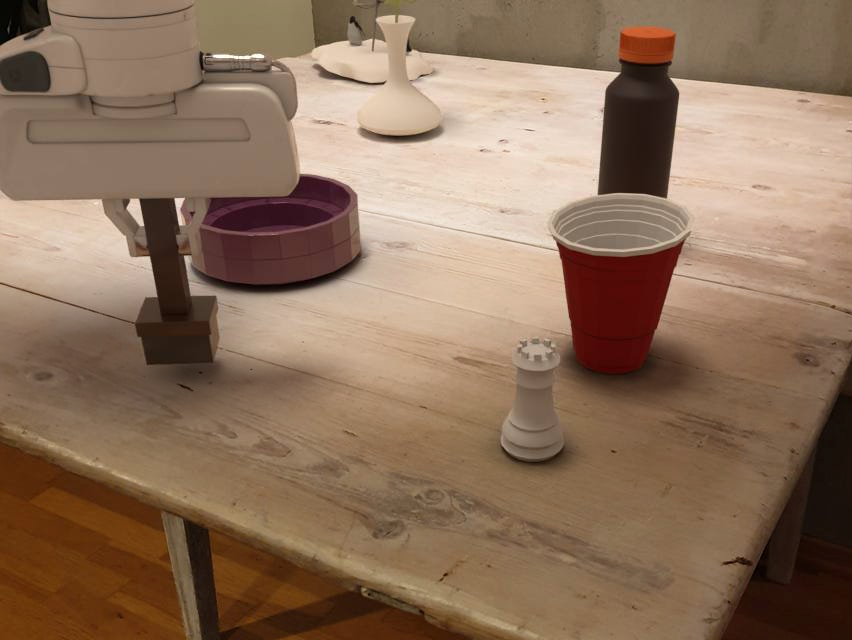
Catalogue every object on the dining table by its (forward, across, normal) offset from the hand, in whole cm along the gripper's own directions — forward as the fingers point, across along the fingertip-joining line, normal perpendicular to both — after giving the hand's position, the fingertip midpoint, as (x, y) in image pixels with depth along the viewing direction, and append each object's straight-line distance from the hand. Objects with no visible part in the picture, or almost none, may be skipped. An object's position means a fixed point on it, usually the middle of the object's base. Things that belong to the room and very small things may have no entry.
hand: (166, 253), depth 70 cm
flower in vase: (+10, -19, -63) cm, 67 cm away
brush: (+8, 0, 0) cm, 8 cm away
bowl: (+10, -5, -22) cm, 25 cm away
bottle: (+10, -40, -22) cm, 47 cm away
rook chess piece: (+10, -26, +13) cm, 30 cm away
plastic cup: (+10, -34, +1) cm, 35 cm away
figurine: (+10, -15, -96) cm, 98 cm away
